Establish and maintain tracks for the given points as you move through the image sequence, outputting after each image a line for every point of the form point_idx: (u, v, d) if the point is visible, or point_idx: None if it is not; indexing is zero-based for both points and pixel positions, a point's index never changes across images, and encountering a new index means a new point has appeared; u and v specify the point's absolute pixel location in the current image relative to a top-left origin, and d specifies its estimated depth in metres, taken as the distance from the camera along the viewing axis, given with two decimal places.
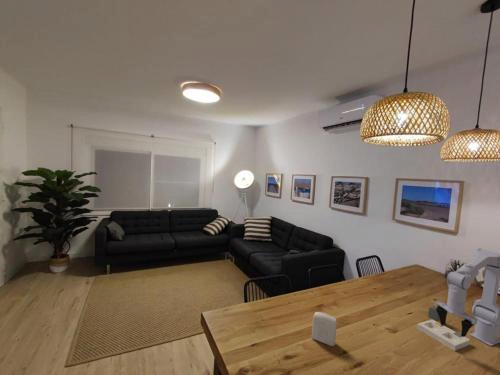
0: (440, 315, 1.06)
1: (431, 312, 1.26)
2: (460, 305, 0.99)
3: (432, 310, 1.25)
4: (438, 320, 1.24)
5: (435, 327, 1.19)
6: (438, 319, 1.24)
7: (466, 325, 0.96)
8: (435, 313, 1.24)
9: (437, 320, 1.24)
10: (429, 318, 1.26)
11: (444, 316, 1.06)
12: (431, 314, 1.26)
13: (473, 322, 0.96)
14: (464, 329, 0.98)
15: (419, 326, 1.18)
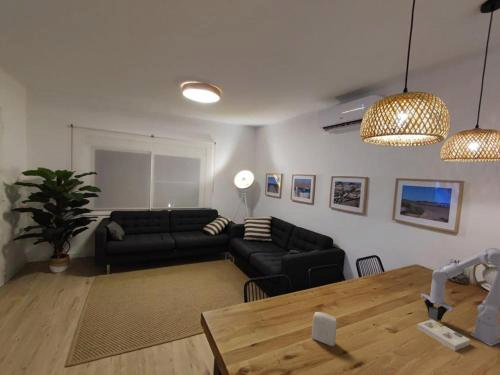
0: (428, 306, 1.27)
1: (431, 312, 1.26)
2: (440, 296, 1.22)
3: (432, 310, 1.25)
4: (438, 320, 1.24)
5: (435, 327, 1.19)
6: None
7: (441, 310, 1.21)
8: (435, 313, 1.24)
9: (437, 320, 1.24)
10: (429, 318, 1.26)
11: None
12: (431, 314, 1.26)
13: (450, 309, 1.19)
14: (440, 314, 1.22)
15: (419, 326, 1.18)
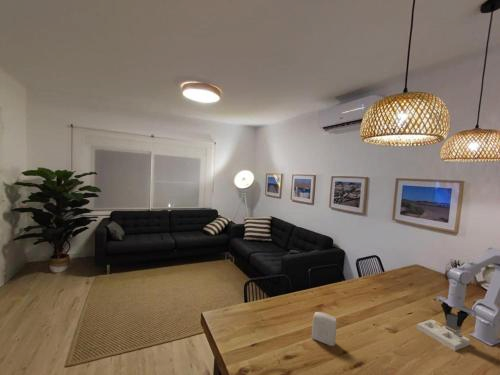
0: (445, 310, 1.11)
1: (449, 319, 1.09)
2: (460, 299, 1.06)
3: (450, 317, 1.09)
4: (458, 329, 1.08)
5: (435, 327, 1.19)
6: (458, 328, 1.08)
7: (462, 315, 1.05)
8: (454, 321, 1.08)
9: (457, 329, 1.07)
10: (447, 326, 1.10)
11: (449, 311, 1.11)
12: (449, 322, 1.09)
13: (472, 315, 1.02)
14: (460, 319, 1.06)
15: (419, 326, 1.18)
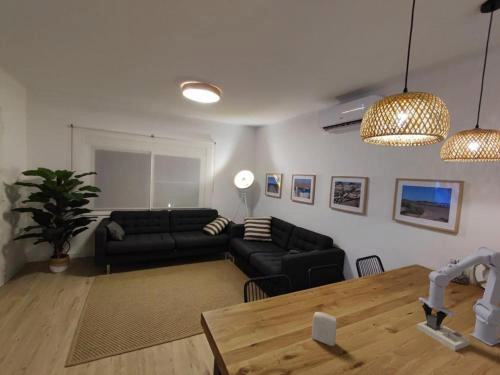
0: (426, 311, 1.19)
1: (429, 320, 1.17)
2: (439, 300, 1.14)
3: (430, 318, 1.17)
4: (437, 329, 1.15)
5: None
6: (437, 328, 1.15)
7: (440, 316, 1.12)
8: (434, 321, 1.15)
9: (436, 329, 1.15)
10: None
11: (429, 312, 1.19)
12: (429, 322, 1.17)
13: (450, 315, 1.10)
14: (439, 319, 1.13)
15: (419, 326, 1.18)
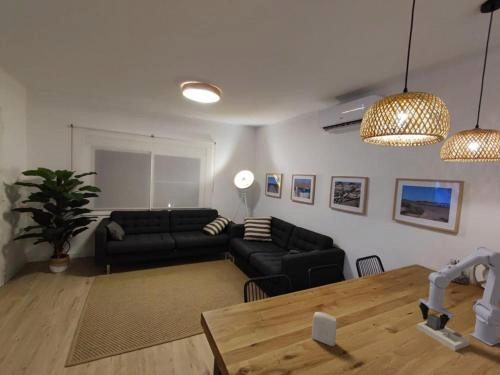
0: (422, 311, 1.20)
1: (429, 320, 1.17)
2: (439, 302, 1.14)
3: (431, 318, 1.17)
4: (437, 329, 1.15)
5: None
6: (437, 328, 1.15)
7: (444, 319, 1.11)
8: (434, 321, 1.15)
9: (436, 329, 1.15)
10: None
11: (426, 311, 1.20)
12: (429, 322, 1.17)
13: (449, 316, 1.10)
14: (442, 322, 1.12)
15: (419, 326, 1.18)
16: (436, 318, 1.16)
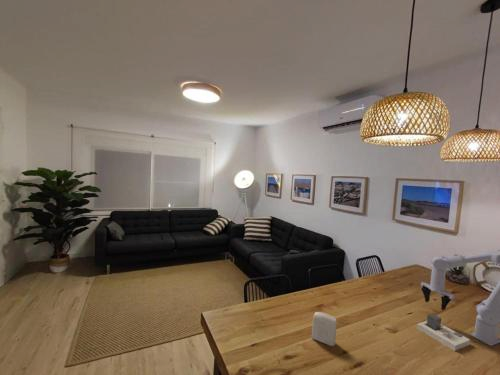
0: (424, 293, 1.26)
1: (429, 320, 1.17)
2: (440, 284, 1.20)
3: (431, 318, 1.17)
4: (437, 329, 1.15)
5: None
6: (437, 328, 1.15)
7: (445, 300, 1.17)
8: (434, 321, 1.15)
9: (436, 329, 1.15)
10: None
11: (428, 294, 1.27)
12: (429, 322, 1.17)
13: (450, 297, 1.16)
14: (443, 303, 1.18)
15: (419, 326, 1.18)
16: (436, 318, 1.16)
